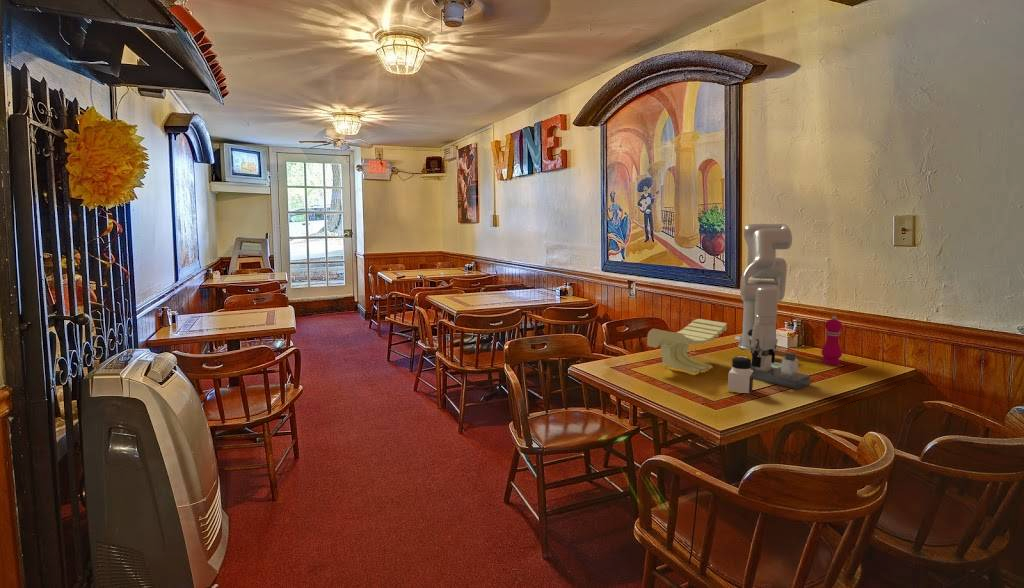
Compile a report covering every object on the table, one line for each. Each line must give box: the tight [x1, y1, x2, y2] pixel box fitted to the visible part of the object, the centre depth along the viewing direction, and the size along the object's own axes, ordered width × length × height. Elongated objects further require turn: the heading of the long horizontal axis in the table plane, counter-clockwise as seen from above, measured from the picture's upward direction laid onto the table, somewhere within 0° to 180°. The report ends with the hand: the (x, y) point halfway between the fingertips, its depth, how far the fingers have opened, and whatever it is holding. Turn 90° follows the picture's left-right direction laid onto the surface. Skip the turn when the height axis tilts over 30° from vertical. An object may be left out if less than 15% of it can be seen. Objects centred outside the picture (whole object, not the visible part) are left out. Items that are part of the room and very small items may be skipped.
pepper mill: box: [821, 315, 843, 366], centre depth 224 cm, size 7×7×20 cm
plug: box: [755, 350, 772, 372], centre depth 207 cm, size 4×4×10 cm
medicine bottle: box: [727, 356, 754, 394], centre depth 192 cm, size 7×7×12 cm
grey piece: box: [751, 352, 811, 391], centre depth 204 cm, size 24×10×12 cm, turn 36°
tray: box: [751, 360, 782, 369], centre depth 220 cm, size 11×11×2 cm
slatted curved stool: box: [646, 318, 728, 373], centre depth 220 cm, size 30×16×18 cm, turn 127°
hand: (763, 364), depth 207 cm, fingers open, 9 cm apart
